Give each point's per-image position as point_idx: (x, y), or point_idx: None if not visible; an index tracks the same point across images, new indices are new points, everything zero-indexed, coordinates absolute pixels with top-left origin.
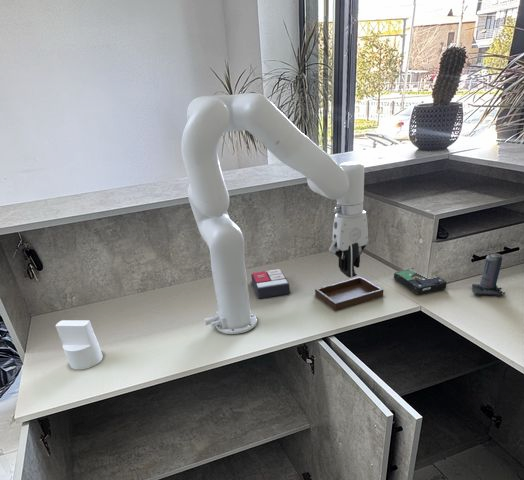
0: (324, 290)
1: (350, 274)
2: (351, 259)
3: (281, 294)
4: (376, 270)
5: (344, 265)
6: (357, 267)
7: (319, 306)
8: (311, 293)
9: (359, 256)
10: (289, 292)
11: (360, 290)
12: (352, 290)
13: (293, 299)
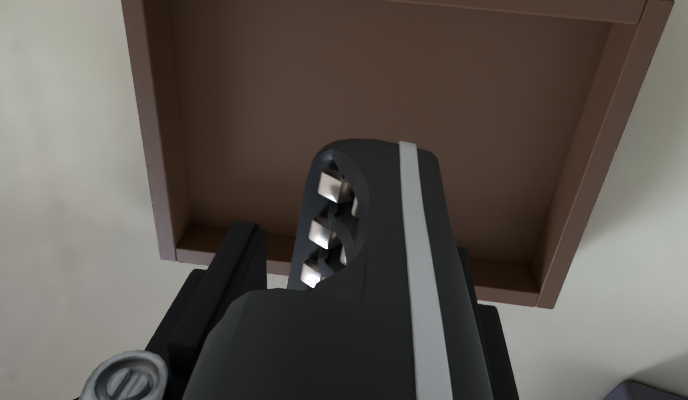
0: (483, 271)
1: (422, 165)
2: (431, 304)
3: (676, 398)
4: (8, 291)
5: (473, 305)
6: (258, 226)
7: (647, 143)
8: (523, 312)
9: (177, 328)
10: (630, 387)
11: (252, 136)
12: (299, 173)
13: (671, 321)
